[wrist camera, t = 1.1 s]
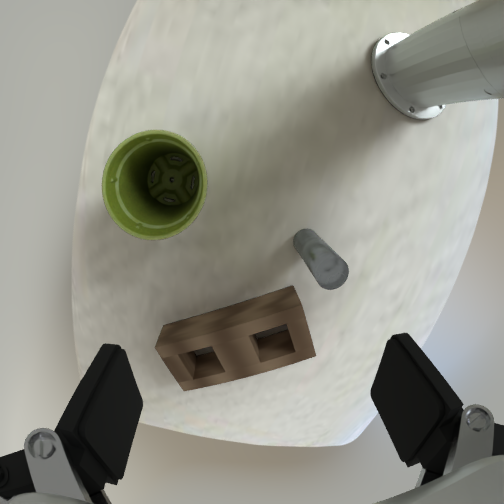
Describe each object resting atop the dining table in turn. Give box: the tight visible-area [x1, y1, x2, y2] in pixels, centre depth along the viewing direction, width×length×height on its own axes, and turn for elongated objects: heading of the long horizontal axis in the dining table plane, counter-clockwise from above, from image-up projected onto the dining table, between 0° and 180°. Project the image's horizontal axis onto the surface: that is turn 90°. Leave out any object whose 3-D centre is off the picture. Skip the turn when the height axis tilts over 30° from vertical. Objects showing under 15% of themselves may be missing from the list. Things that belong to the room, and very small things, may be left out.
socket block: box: [155, 286, 316, 391], centre depth 34 cm, size 18×8×5 cm, turn 109°
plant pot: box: [102, 130, 207, 240], centre depth 26 cm, size 9×9×9 cm
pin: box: [294, 229, 349, 290], centre depth 28 cm, size 3×3×10 cm
